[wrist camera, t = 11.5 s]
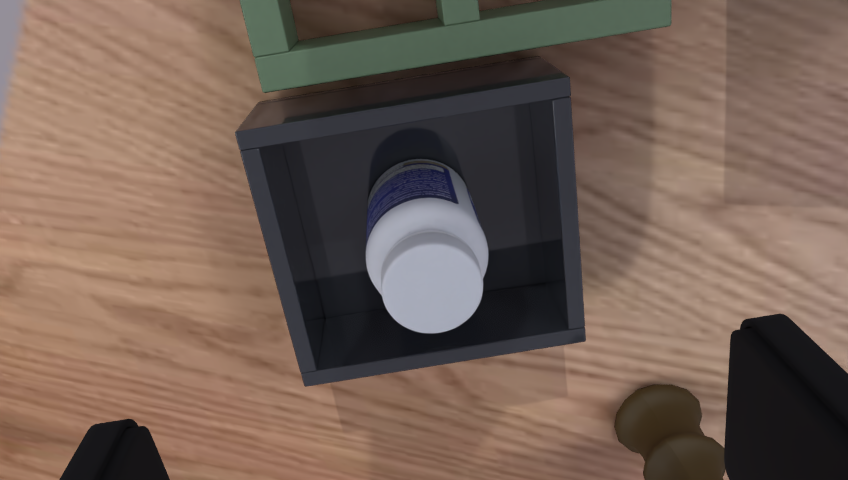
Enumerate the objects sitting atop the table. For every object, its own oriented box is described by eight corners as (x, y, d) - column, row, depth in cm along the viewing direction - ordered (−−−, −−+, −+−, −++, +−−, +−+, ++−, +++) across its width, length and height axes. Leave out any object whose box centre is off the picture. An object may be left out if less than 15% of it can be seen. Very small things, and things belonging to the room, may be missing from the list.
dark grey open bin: (257, 101, 32) (234, 132, 27) (539, 55, 32) (570, 76, 27) (314, 326, 37) (304, 387, 32) (557, 287, 37) (586, 342, 32)
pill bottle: (346, 213, 34) (334, 298, 26) (413, 135, 32) (424, 199, 24) (425, 273, 36) (438, 370, 27) (493, 200, 34) (528, 281, 26)
